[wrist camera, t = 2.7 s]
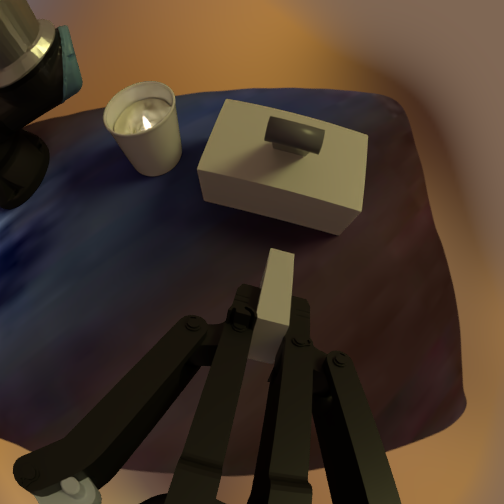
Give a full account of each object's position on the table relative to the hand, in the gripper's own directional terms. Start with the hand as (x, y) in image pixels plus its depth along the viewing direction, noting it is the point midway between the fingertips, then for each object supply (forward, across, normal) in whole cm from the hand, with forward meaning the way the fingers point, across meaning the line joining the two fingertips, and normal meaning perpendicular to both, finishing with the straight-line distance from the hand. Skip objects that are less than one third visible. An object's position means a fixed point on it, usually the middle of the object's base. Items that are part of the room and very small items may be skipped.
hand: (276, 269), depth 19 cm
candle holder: (+28, -21, -2) cm, 35 cm away
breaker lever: (+22, -1, +4) cm, 22 cm away
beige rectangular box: (+28, -1, -2) cm, 28 cm away
